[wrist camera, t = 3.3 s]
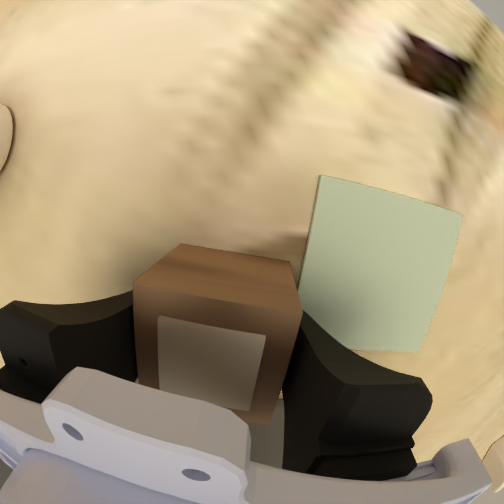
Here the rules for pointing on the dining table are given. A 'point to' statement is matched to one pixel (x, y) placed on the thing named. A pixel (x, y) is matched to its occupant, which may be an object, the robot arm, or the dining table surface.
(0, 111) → the beige paper cup
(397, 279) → the pad
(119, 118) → the dining table surface
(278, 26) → the dining table surface
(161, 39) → the dining table surface
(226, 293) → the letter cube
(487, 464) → the medicine bottle
